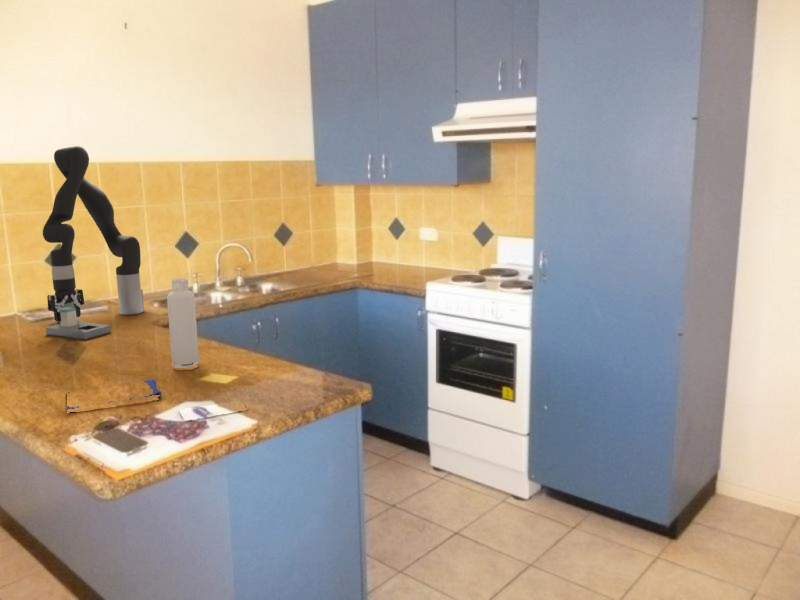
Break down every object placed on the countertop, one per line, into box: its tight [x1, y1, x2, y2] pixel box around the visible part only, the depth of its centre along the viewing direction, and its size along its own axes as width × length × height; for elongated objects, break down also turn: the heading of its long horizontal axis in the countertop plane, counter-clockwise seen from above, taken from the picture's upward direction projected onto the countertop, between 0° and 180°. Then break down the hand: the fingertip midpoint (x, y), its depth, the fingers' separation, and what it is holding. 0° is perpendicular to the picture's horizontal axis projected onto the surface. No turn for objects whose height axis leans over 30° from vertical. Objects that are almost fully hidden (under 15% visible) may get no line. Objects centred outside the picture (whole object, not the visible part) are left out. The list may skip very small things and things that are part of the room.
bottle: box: [166, 277, 200, 368], centre depth 209 cm, size 8×8×28 cm
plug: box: [59, 307, 78, 327], centre depth 256 cm, size 4×4×9 cm
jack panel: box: [45, 320, 112, 341], centre depth 254 cm, size 12×20×3 cm, turn 66°
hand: (68, 319), depth 255 cm, fingers open, 8 cm apart
